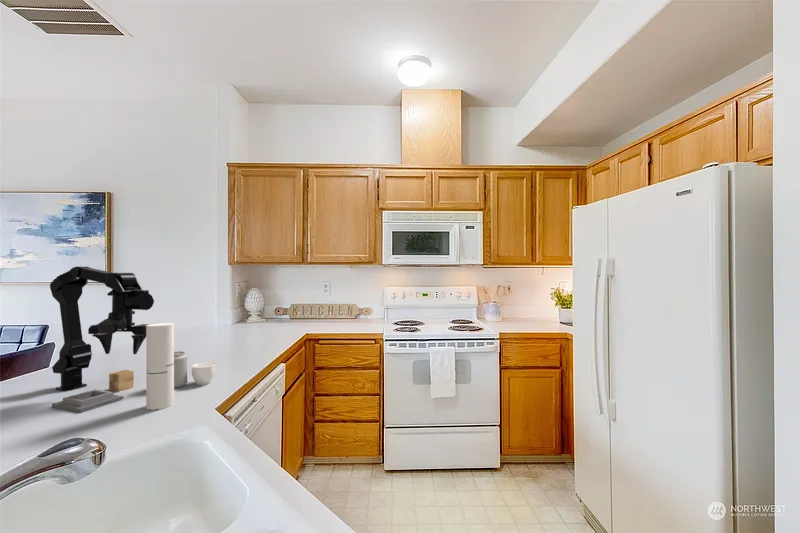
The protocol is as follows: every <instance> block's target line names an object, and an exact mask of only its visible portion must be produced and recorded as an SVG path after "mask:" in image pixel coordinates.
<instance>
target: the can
mask: <svg viewBox="0 0 800 533" xmlns="http://www.w3.org/2000/svg"><path fill="white" fill-rule="evenodd" d="M187 383H188V355H187V354H186V351H182V350H181V351H174V389H178V388H181V387H184V386H185V385H187Z"/></svg>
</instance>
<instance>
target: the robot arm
mask: <svg viewBox="0 0 800 533" xmlns="http://www.w3.org/2000/svg"><path fill="white" fill-rule="evenodd" d="M88 281H91V282H95V283H96V282H97V283H101V284H104V285H105V286H106V288H109V289H111V290H110V291H109V292H108V293H106V294H107V296H111V297H112V298H111V302H112V303H111V312H108V316H107V318H105V319H104V320H102V321H100V322H99V323H97V324H92V325H90V326H89V327H88V329H87V330H88V332H87V333H88V335H92V337H95V338H96V339H98V340H99V342H100V344H101V346H102V348H103V351H104V353H105V354H106V355H108V354H110V352H111V350H112V349H111V348H112V340H113V336H114V335H113V334H115V333H117V332H120V333H122V332H123V333H124V332H125V333H130V332H131V333H132V334H133V335H131V338H132V340H133V341H132V342H133V343H132V354H133V355H136V354H137V353H138V351H139V350H140V348H141V346H142V344H143V342H144V341H145V339H146V325H149V324H150V323H149V324H148V323H142V324H138V325H137V324H135V323H136V322H133V315H135V314H136V311H137V310H138V311H149V310H150V309H151V308H153V306H154V304H155V299H154V297H153V295H152V294H151V293H149V292H150V290H149V289H144V288H143V286H142V285H141V284H140V281H139V280H138V278H137V277H136V274H135V273H134V272H111V271H107V270H102V269H97V268H92V267H90V266H74V267H72V268H70V270H68V271H66V272H64V273H61V274H59V275H58V276H56V277H55V278H54V279H53V280H52V281H51V282H50V285H49V288H50V293H51V295H52V297H53V298H54V300H56V301H57V303H58V304H59V311H60V318H61V327H62V335H63V340H64V341H63V342H64V343H63V345H62V347H61V348H60V350H59V357H58V359H57V361H56V362H55V363H54V364H53V366H52V367H51V368H52V372H53V374H60V386H56V387H55V390H59V391H60V390H61V391H65V392H66V391H70V390H74V389H79V388H82V387H86V386H87V383H83V369H88V368H89V367H90V363H91V360H92V355H93V352H92V344H90V343H87V342H85V341H84V338H83V332H82V331H83V330H82V324H81V317H80V309H79V299H80V298H81V297H82V294H83V288H84V287H85V286H86V285H87V284H88V283H89V282H88ZM135 310H136V311H135Z"/></svg>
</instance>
